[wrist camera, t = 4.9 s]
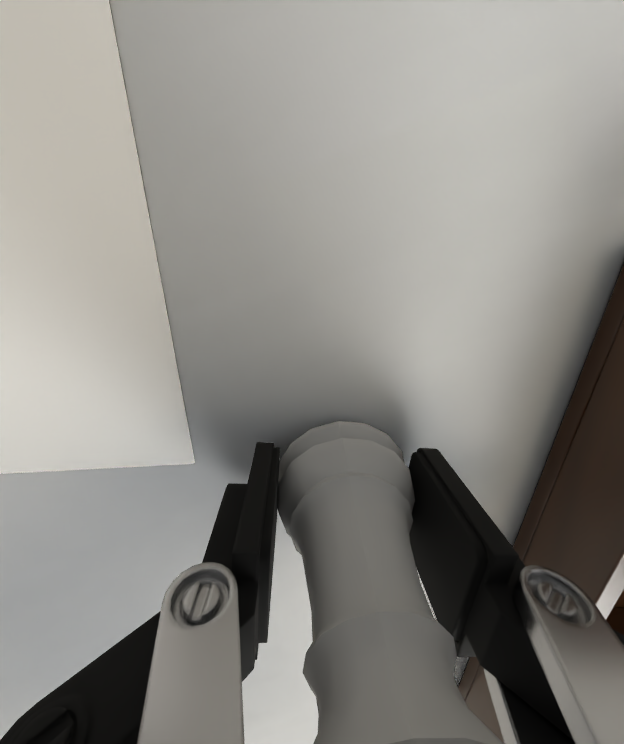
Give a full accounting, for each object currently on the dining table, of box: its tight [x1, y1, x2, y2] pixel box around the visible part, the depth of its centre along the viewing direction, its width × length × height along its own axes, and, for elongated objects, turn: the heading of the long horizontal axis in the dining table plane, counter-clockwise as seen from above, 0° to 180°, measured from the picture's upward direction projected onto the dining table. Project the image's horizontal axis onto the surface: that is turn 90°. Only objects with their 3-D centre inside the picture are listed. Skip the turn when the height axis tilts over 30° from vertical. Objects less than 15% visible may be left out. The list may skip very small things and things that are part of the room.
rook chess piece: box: [277, 421, 504, 744], centre depth 7 cm, size 4×4×8 cm
